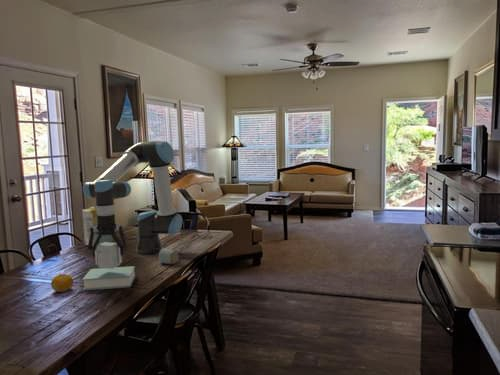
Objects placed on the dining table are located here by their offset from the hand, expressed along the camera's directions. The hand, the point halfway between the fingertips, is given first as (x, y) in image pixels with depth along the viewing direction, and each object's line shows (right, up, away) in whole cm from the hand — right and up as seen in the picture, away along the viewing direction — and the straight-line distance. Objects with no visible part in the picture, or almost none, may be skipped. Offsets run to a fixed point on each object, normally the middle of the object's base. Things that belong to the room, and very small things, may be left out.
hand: (109, 263), depth 176 cm
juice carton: (-36, -2, +72) cm, 80 cm away
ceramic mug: (+22, -6, +30) cm, 37 cm away
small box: (0, -2, 0) cm, 2 cm away
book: (0, -9, +1) cm, 9 cm away
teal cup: (-22, -4, +53) cm, 58 cm away
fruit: (-18, -11, -6) cm, 22 cm away
